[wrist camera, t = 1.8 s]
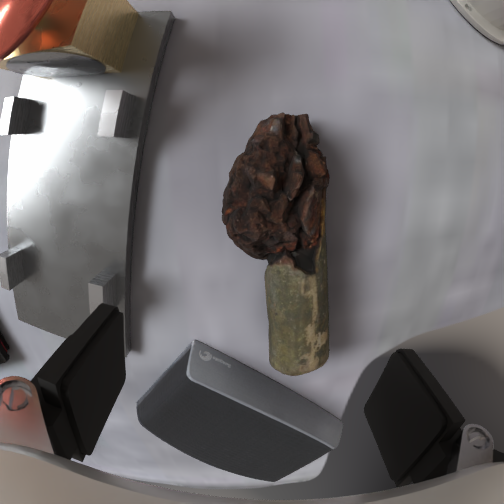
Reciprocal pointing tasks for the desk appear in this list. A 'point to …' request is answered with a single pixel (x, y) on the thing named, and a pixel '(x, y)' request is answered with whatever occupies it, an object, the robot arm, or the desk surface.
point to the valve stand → (75, 152)
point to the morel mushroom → (285, 235)
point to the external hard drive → (235, 417)
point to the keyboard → (3, 350)
